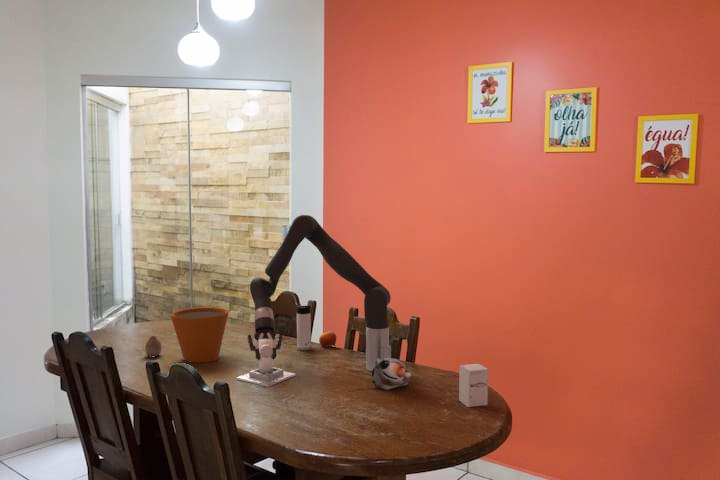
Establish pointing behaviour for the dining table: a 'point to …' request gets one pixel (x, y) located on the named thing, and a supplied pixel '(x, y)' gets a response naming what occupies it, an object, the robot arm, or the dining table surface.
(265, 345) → the elbow
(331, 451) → the dining table surface
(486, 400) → the supplement box
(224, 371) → the dining table surface
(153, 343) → the reddish brown teardrop
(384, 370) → the lucky cat figurine
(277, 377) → the plate
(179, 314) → the flower pot
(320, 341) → the fruit
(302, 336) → the travel mug
